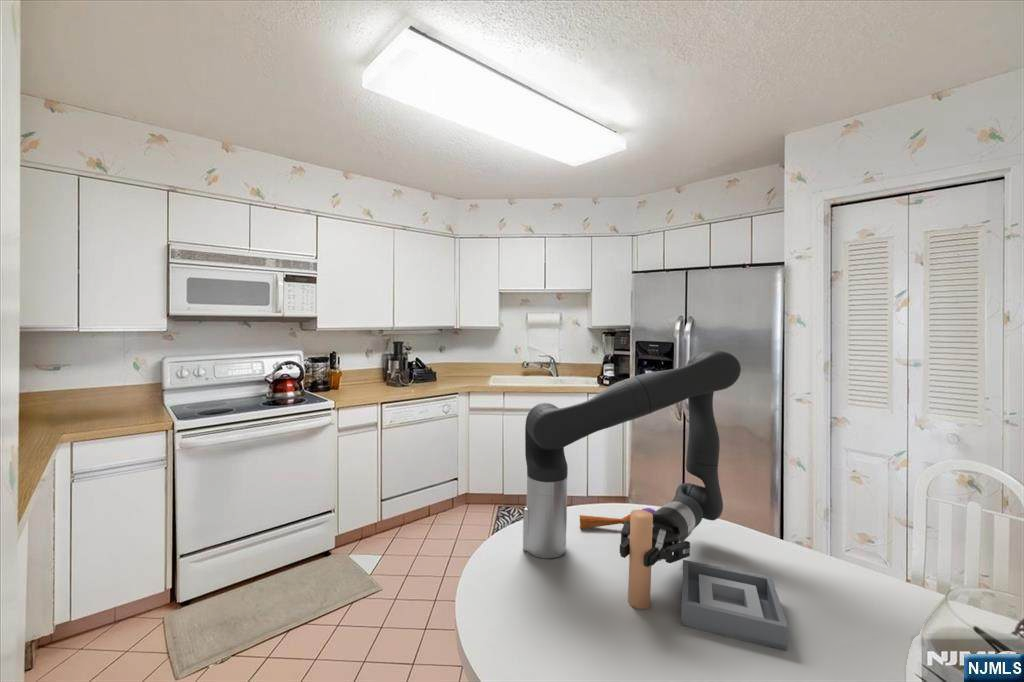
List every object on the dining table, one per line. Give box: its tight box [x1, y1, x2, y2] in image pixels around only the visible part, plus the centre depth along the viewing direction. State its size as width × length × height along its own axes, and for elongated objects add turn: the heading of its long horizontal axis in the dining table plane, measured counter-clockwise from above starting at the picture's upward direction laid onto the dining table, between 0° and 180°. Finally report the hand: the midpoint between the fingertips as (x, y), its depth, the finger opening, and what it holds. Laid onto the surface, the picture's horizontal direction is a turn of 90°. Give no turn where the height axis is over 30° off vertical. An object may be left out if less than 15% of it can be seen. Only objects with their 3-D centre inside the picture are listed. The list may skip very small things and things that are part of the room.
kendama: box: [579, 507, 657, 530], centre depth 113 cm, size 6×6×20 cm
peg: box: [627, 509, 653, 610], centre depth 84 cm, size 4×4×17 cm
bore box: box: [680, 559, 789, 652], centre depth 83 cm, size 16×15×4 cm
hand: (634, 556), depth 82 cm, fingers closed on peg, 4 cm apart
